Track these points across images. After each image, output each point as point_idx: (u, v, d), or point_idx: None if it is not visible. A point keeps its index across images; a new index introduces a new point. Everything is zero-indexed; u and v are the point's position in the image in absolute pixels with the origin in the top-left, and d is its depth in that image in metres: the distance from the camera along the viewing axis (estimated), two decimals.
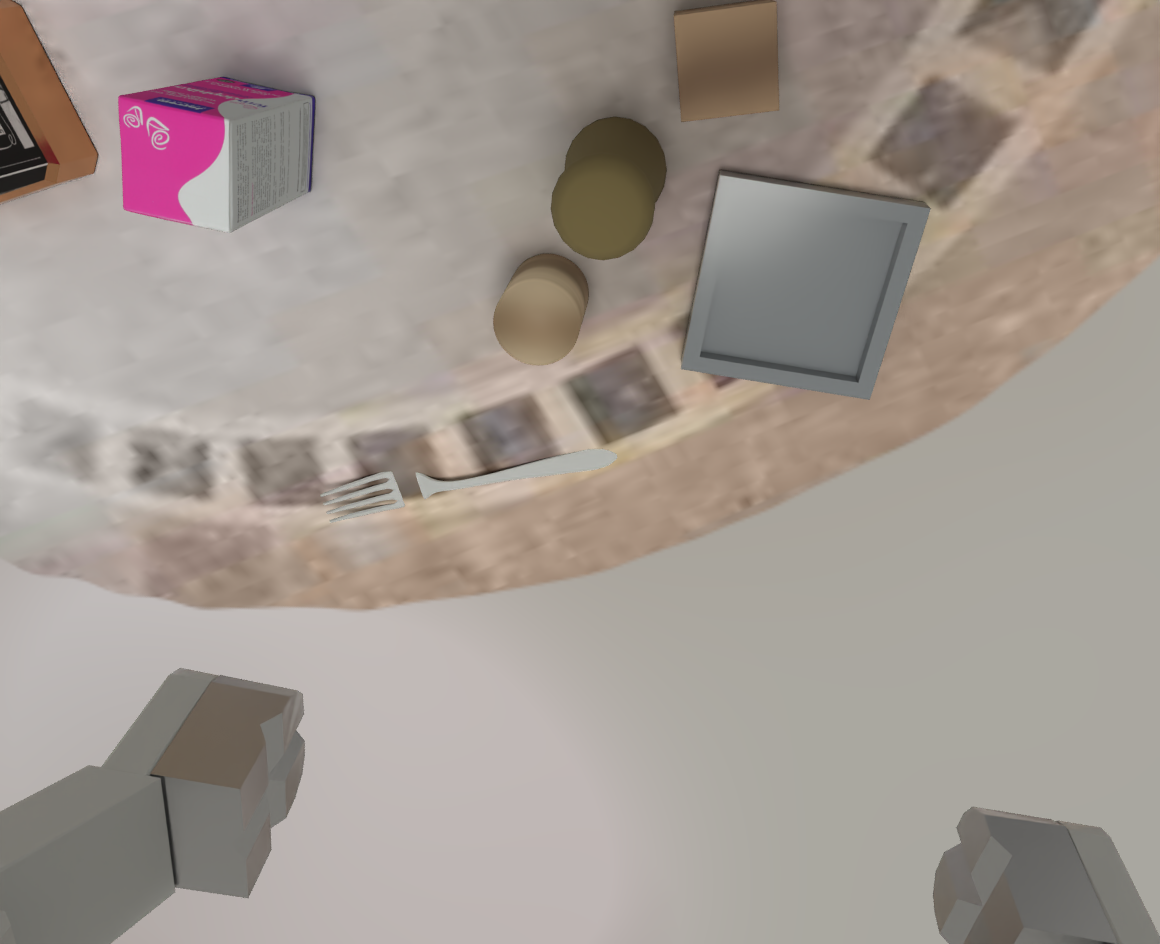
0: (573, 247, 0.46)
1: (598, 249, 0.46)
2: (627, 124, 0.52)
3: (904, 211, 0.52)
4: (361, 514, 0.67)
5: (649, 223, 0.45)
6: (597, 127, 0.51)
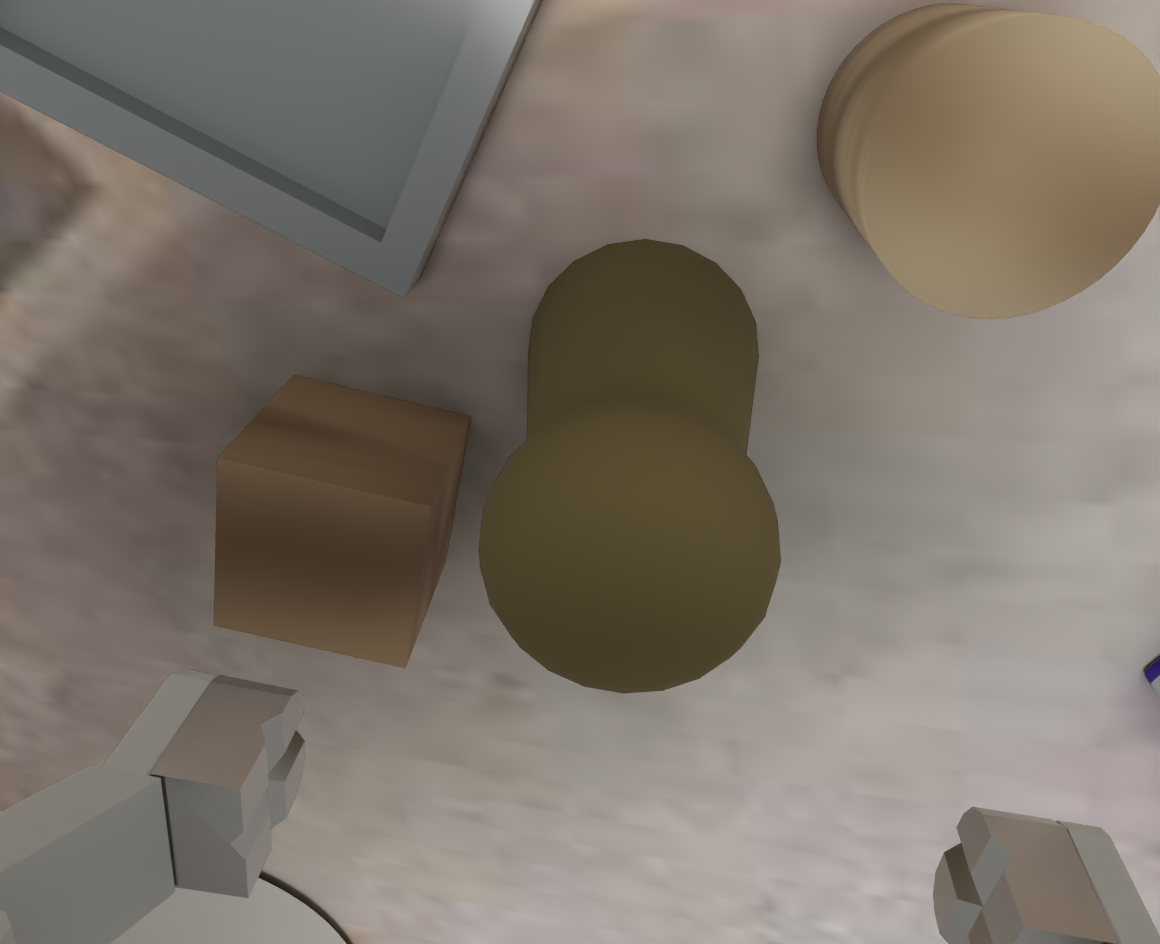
0: (747, 530, 0.14)
1: (671, 514, 0.14)
2: None
3: None
4: None
5: (502, 498, 0.15)
6: None
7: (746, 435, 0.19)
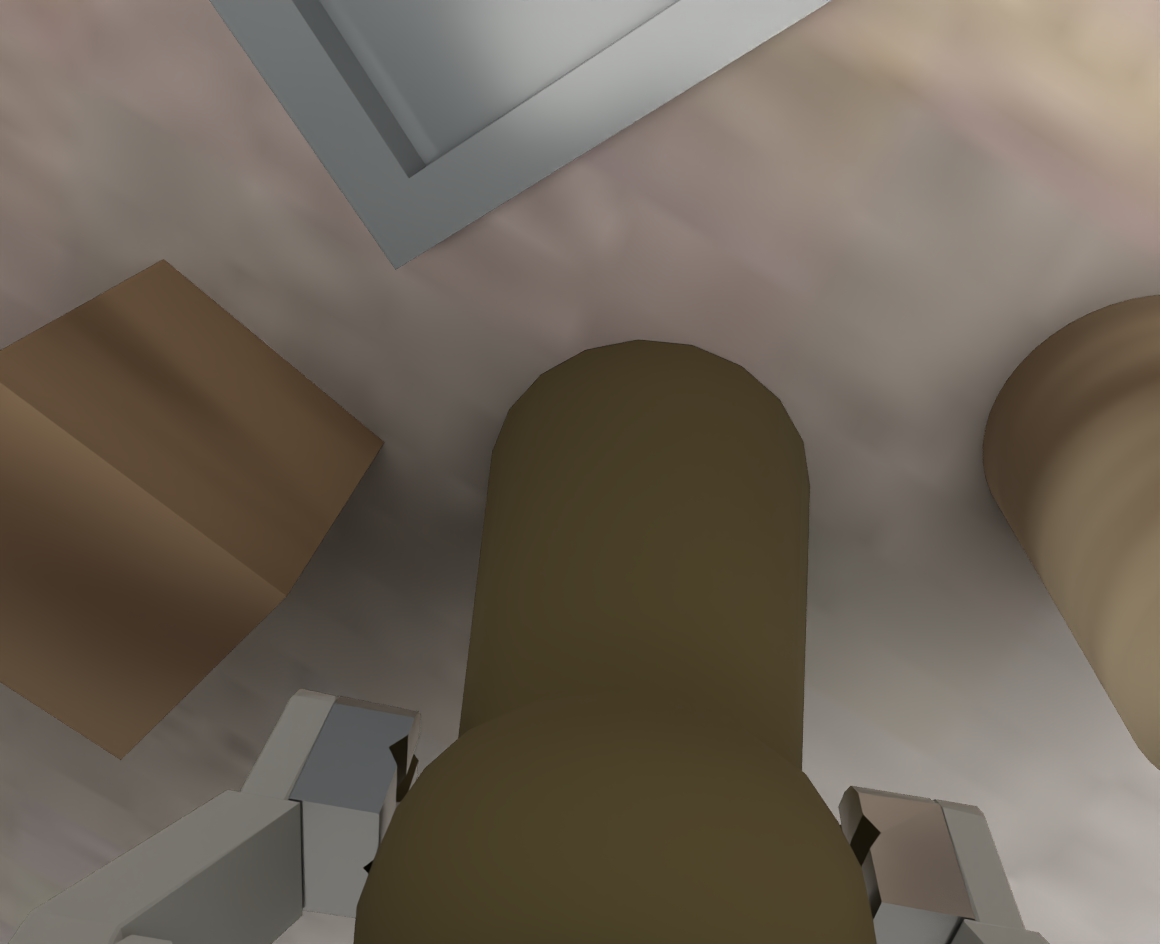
0: None
1: None
2: None
3: None
4: None
5: (487, 851, 0.08)
6: None
7: None
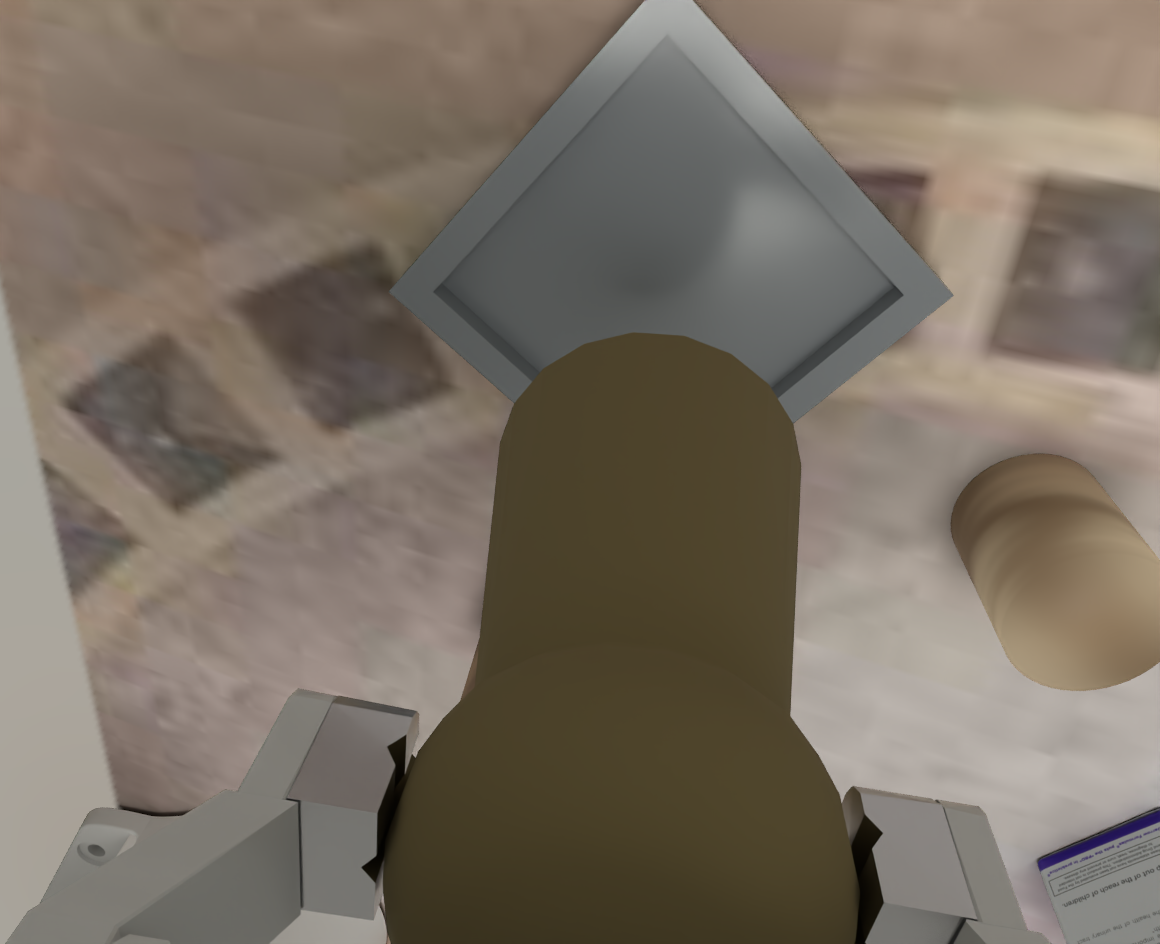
0: None
1: None
2: None
3: (429, 313, 0.29)
4: None
5: (498, 777, 0.09)
6: None
7: None
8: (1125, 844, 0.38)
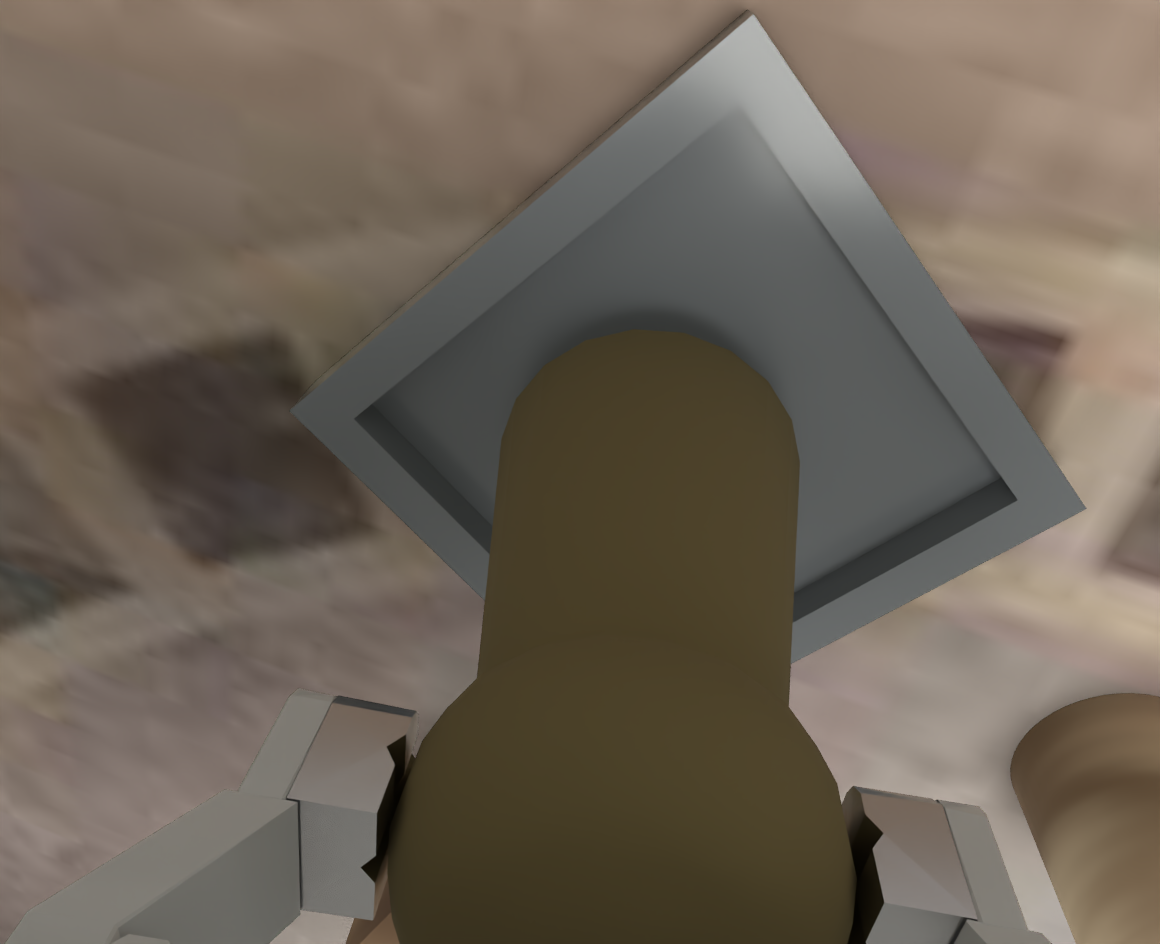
0: None
1: (759, 930, 0.09)
2: None
3: (346, 446, 0.20)
4: None
5: (502, 764, 0.09)
6: None
7: None
8: None
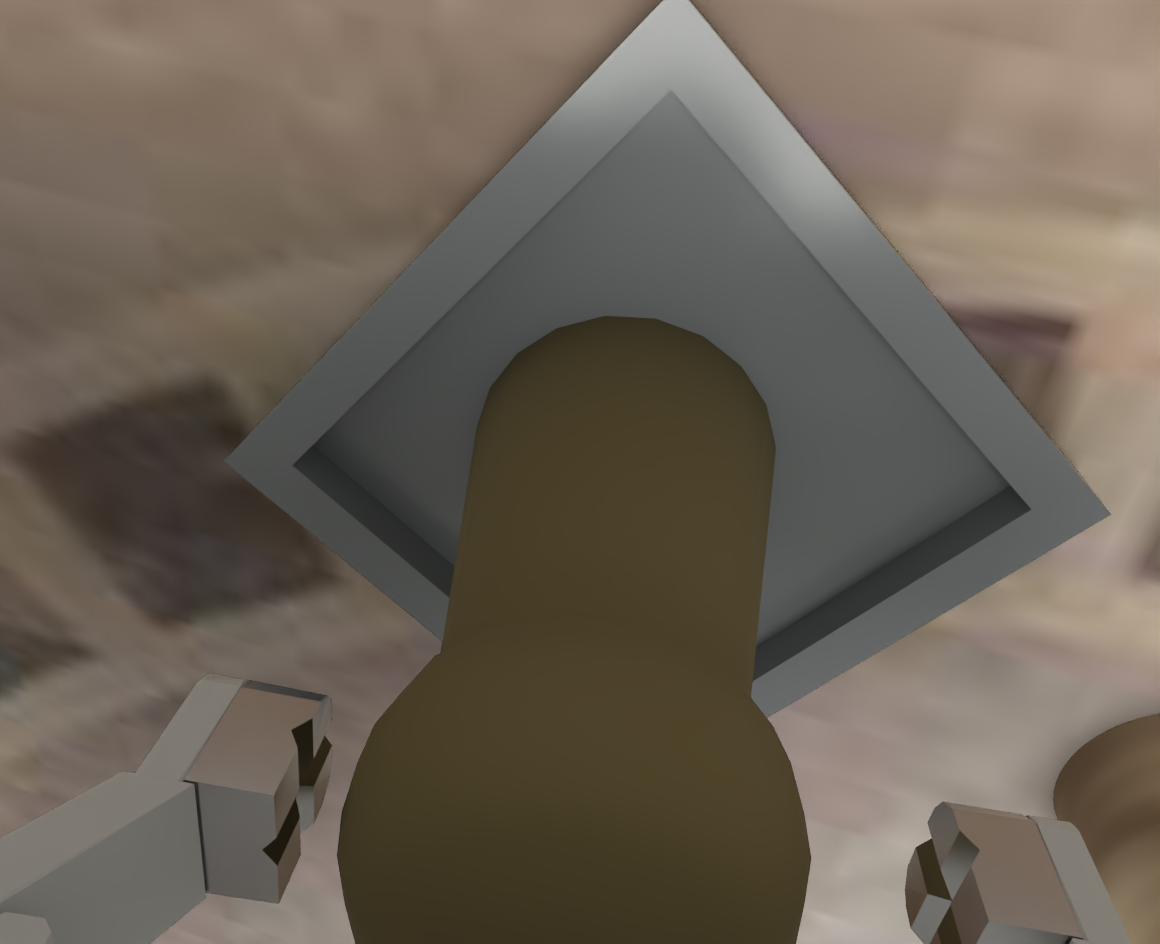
0: None
1: (704, 908, 0.08)
2: None
3: (288, 495, 0.19)
4: None
5: (444, 744, 0.09)
6: None
7: None
8: None
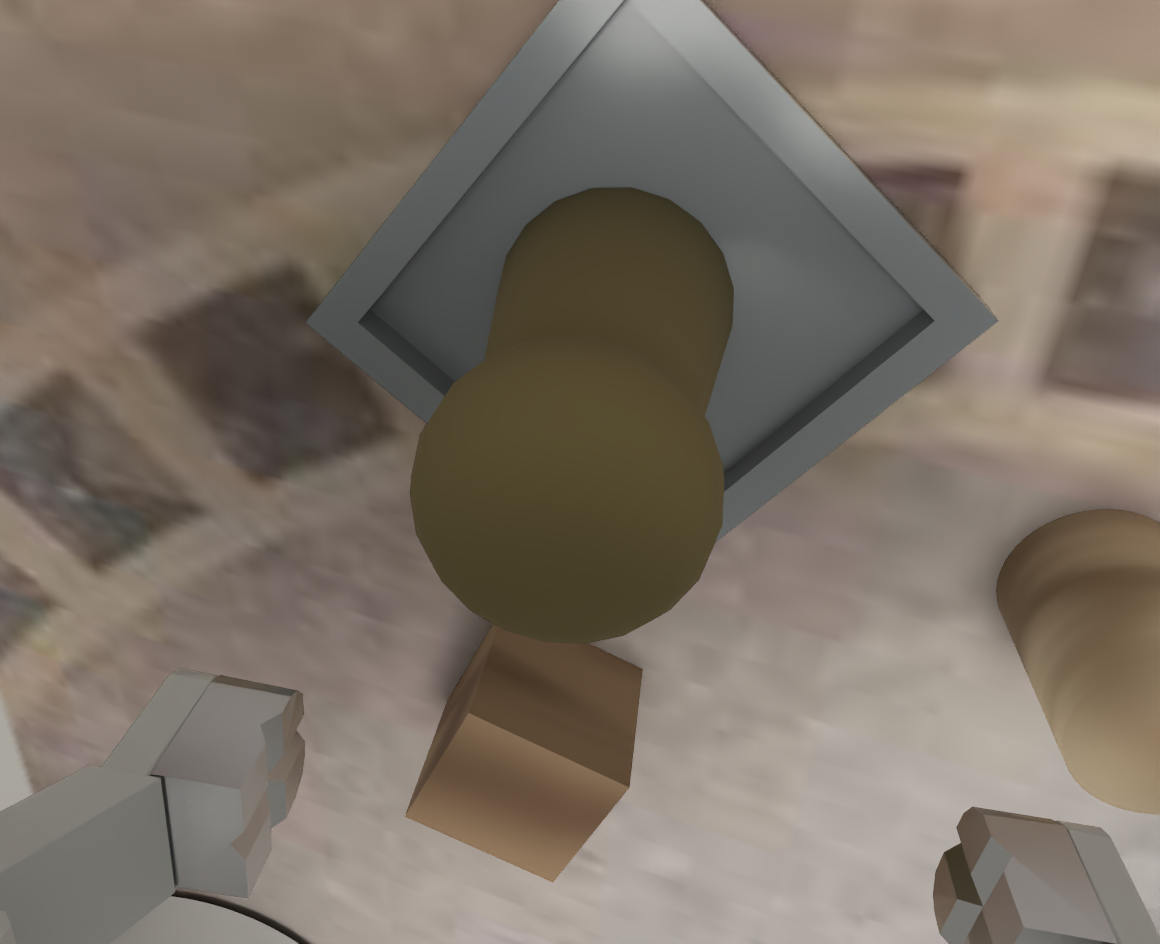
0: (701, 524, 0.14)
1: (642, 480, 0.13)
2: None
3: (355, 348, 0.24)
4: None
5: (474, 394, 0.14)
6: None
7: None
8: None
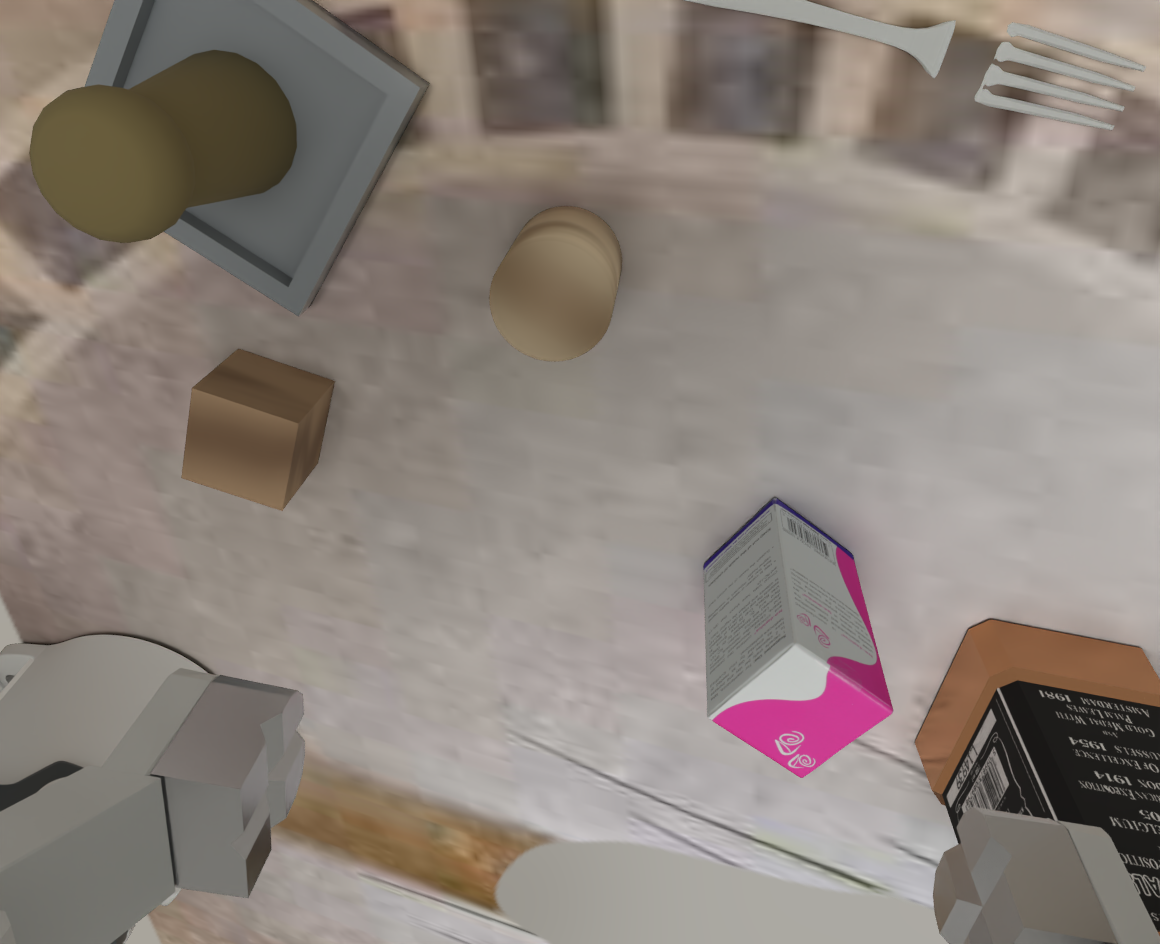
0: (152, 155, 0.30)
1: (111, 132, 0.30)
2: None
3: None
4: (1084, 48, 0.35)
5: (42, 111, 0.30)
6: None
7: (230, 158, 0.35)
8: (749, 529, 0.47)
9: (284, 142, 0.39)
